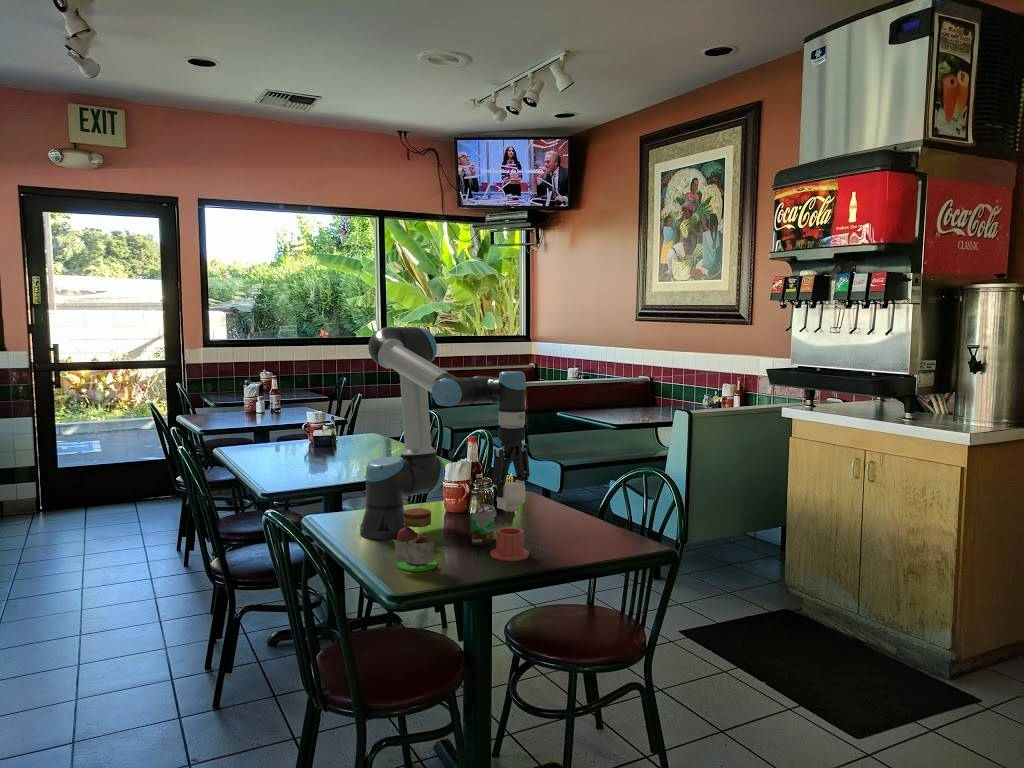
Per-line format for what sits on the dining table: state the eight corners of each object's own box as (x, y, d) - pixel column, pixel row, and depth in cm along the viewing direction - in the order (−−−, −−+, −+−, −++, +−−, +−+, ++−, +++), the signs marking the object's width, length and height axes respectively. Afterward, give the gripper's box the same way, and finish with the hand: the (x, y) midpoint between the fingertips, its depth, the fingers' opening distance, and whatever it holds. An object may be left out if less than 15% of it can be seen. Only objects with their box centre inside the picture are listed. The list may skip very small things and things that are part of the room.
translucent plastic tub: (393, 559, 209) (393, 506, 208) (439, 558, 210) (439, 506, 209) (389, 573, 197) (389, 517, 196) (437, 572, 198) (438, 517, 197)
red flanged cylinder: (482, 556, 213) (483, 532, 212) (505, 547, 222) (505, 524, 221) (514, 563, 206) (514, 538, 206) (536, 554, 215) (536, 530, 215)
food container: (491, 547, 221) (491, 514, 220) (470, 546, 222) (471, 512, 222) (500, 536, 233) (500, 504, 233) (480, 534, 235) (481, 503, 234)
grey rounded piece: (491, 510, 212) (491, 485, 212) (507, 504, 219) (507, 481, 218) (514, 514, 207) (514, 489, 207) (530, 509, 214) (530, 484, 213)
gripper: (500, 431, 201) (499, 514, 202) (543, 423, 217) (541, 500, 219) (478, 428, 205) (477, 510, 207) (521, 421, 222) (520, 497, 224)
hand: (510, 505), depth 213 cm, fingers closed on grey rounded piece, 8 cm apart
